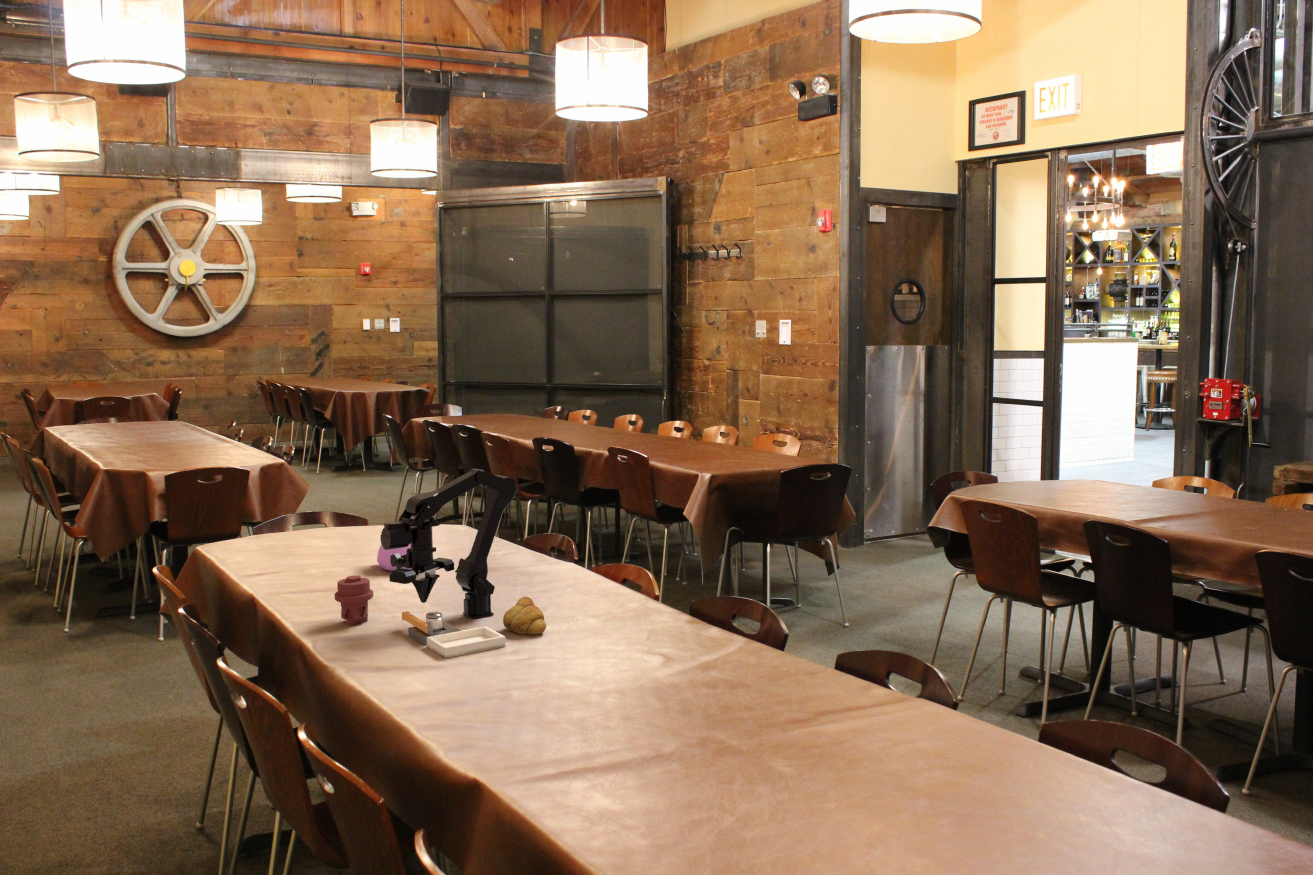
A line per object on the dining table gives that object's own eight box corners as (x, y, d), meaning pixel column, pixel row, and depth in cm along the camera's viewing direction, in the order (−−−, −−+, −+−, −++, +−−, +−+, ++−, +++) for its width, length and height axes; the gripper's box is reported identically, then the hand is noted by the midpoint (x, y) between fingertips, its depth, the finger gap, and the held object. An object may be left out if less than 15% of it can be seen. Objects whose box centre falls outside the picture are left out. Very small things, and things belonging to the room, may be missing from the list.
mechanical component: (380, 617, 293) (363, 628, 283) (346, 616, 295) (328, 626, 285) (379, 573, 292) (361, 582, 282) (345, 571, 294) (326, 580, 284)
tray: (485, 635, 276) (485, 626, 276) (505, 646, 267) (505, 636, 267) (427, 646, 267) (426, 637, 267) (445, 658, 258) (445, 648, 258)
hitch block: (444, 628, 282) (444, 621, 282) (460, 637, 274) (460, 630, 274) (408, 635, 277) (408, 627, 276) (423, 644, 269) (423, 637, 268)
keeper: (408, 618, 284) (407, 606, 284) (435, 633, 270) (434, 621, 269) (400, 619, 283) (400, 607, 283) (427, 635, 269) (427, 622, 268)
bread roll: (554, 633, 278) (553, 603, 277) (521, 640, 272) (521, 609, 271) (529, 622, 288) (528, 593, 287) (496, 629, 282) (496, 599, 281)
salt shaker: (438, 633, 278) (438, 610, 278) (445, 637, 275) (444, 614, 274) (424, 636, 276) (423, 613, 275) (430, 639, 273) (429, 616, 272)
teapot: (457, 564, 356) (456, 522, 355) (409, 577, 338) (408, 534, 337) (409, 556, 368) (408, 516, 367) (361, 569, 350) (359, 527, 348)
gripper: (424, 534, 295) (426, 590, 296) (373, 547, 279) (375, 606, 281) (454, 539, 289) (456, 595, 290) (404, 552, 273) (406, 612, 275)
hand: (423, 602), depth 284 cm, fingers closed
